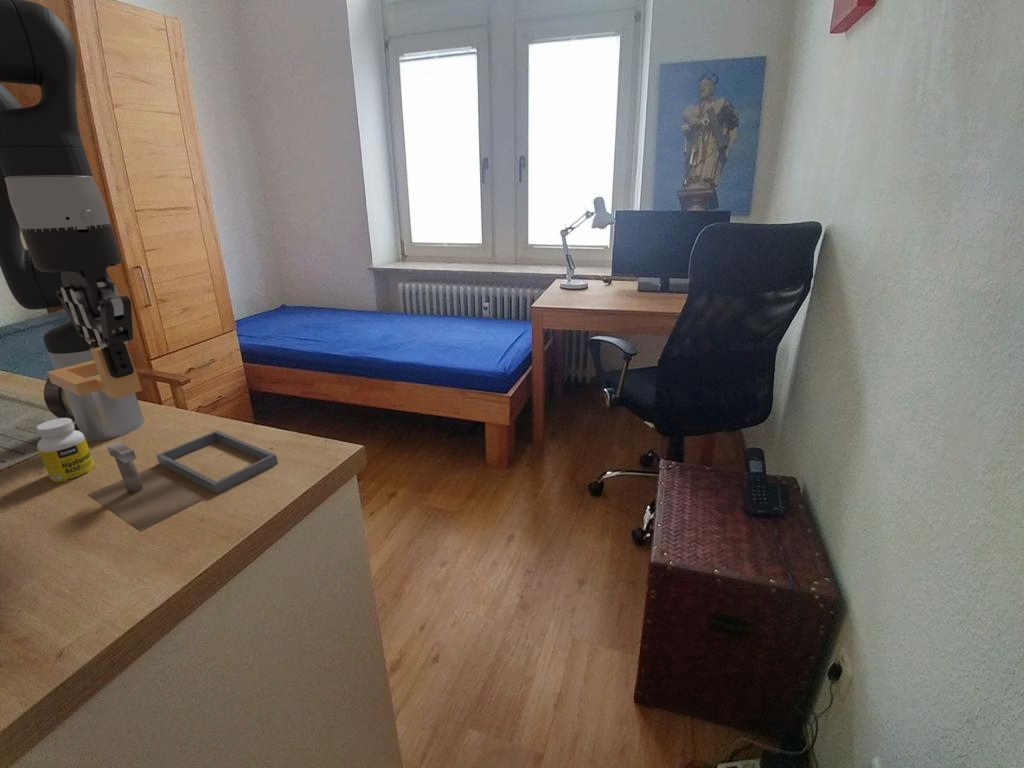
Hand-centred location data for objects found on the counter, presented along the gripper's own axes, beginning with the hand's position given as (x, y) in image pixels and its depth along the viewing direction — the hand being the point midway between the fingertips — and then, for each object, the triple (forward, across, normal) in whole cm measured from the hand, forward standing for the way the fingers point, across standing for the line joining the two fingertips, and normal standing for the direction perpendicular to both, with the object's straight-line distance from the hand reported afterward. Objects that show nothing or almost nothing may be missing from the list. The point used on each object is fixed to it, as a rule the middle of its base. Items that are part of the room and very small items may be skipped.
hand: (118, 373), depth 60 cm
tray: (+21, -6, +10) cm, 24 cm away
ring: (+3, -6, 0) cm, 7 cm away
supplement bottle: (+21, -23, -2) cm, 31 cm away
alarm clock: (+21, -45, +8) cm, 50 cm away
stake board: (+21, -6, 0) cm, 22 cm away
